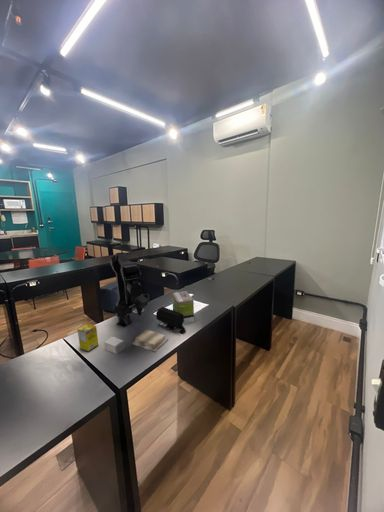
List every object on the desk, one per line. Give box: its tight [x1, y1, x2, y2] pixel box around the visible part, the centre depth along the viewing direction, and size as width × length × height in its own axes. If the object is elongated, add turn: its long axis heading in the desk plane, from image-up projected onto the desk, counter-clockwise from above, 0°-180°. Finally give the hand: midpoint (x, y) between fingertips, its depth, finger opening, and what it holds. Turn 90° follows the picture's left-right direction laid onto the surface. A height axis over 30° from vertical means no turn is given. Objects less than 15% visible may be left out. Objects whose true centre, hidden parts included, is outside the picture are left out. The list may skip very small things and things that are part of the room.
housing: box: [103, 336, 126, 355], centre depth 103 cm, size 8×5×4 cm, turn 62°
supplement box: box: [77, 323, 99, 353], centre depth 103 cm, size 6×6×11 cm
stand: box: [131, 329, 169, 353], centre depth 108 cm, size 14×11×3 cm
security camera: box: [155, 306, 187, 335], centre depth 120 cm, size 7×18×10 cm, turn 53°
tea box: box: [171, 290, 195, 325], centre depth 130 cm, size 15×10×15 cm
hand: (133, 319), depth 105 cm, fingers open, 9 cm apart
